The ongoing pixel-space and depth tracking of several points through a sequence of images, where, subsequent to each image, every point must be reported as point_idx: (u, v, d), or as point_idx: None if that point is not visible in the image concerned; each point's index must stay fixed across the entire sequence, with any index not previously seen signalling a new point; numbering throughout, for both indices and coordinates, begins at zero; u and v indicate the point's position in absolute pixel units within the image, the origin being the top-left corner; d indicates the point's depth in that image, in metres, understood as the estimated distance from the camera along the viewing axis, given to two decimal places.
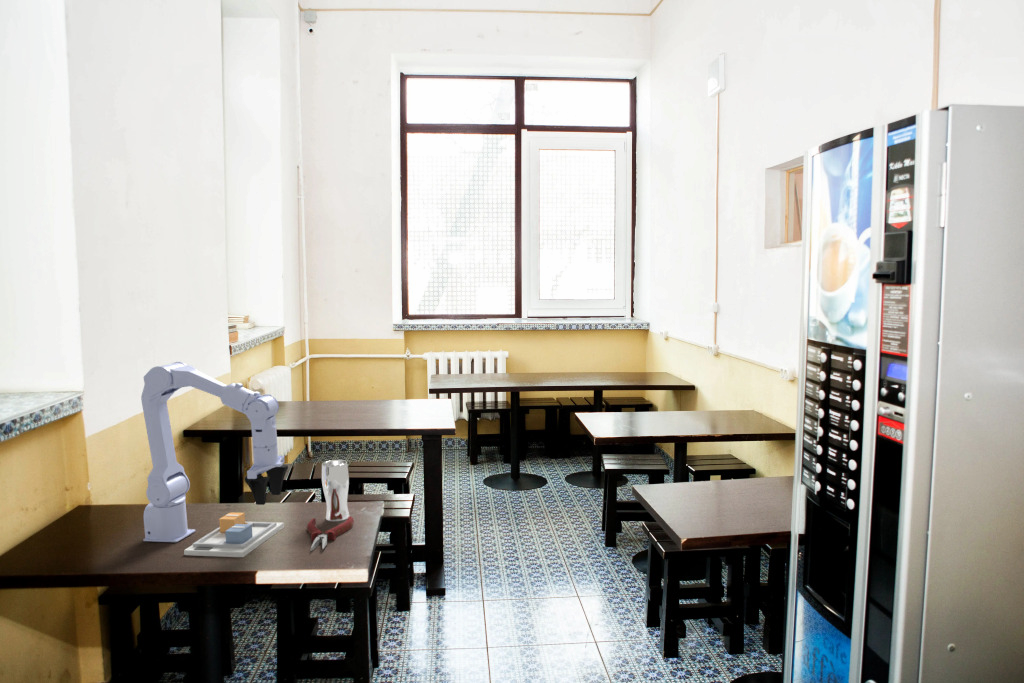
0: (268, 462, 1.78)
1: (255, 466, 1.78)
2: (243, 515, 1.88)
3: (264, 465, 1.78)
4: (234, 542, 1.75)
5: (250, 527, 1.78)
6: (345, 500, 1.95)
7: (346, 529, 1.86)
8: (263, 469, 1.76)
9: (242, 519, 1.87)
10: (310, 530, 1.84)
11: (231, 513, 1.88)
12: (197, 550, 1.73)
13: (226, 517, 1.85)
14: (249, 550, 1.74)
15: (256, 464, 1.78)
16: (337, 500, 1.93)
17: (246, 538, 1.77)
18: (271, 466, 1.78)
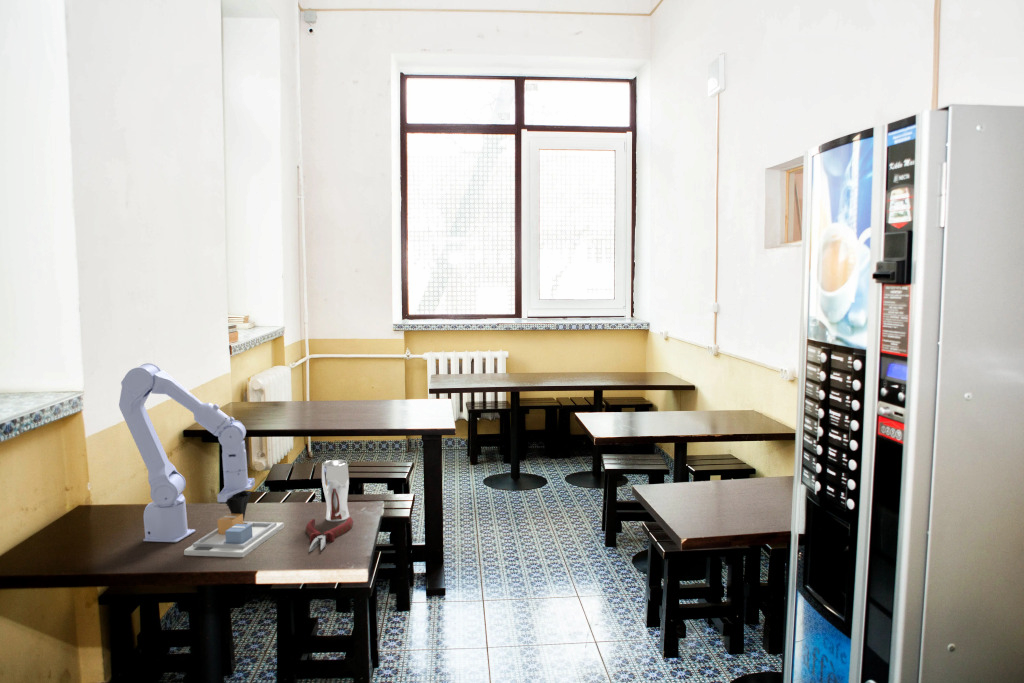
0: (238, 485, 1.86)
1: (225, 489, 1.86)
2: (241, 516, 1.87)
3: (234, 488, 1.85)
4: (234, 542, 1.75)
5: (250, 527, 1.78)
6: (345, 500, 1.95)
7: (345, 530, 1.85)
8: (233, 493, 1.84)
9: (240, 520, 1.86)
10: (309, 531, 1.83)
11: (229, 514, 1.87)
12: (197, 550, 1.73)
13: (224, 518, 1.84)
14: (249, 550, 1.74)
15: (226, 487, 1.86)
16: (337, 500, 1.93)
17: (246, 538, 1.77)
18: (241, 489, 1.86)
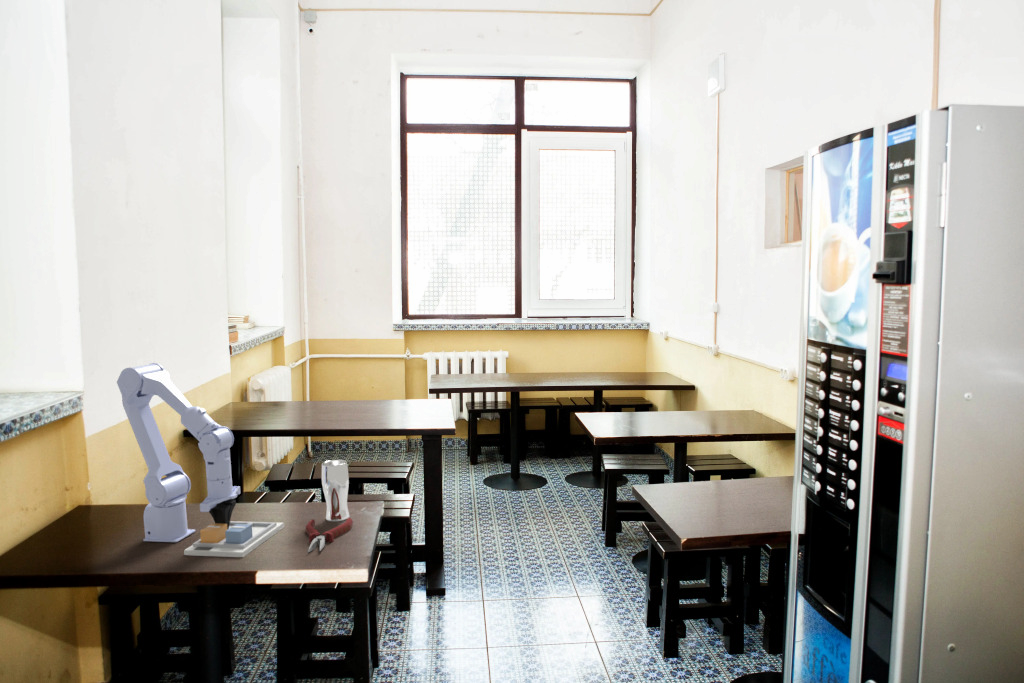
0: (222, 494, 1.79)
1: (209, 498, 1.79)
2: (225, 526, 1.80)
3: (218, 497, 1.78)
4: (234, 542, 1.75)
5: (250, 527, 1.78)
6: (345, 500, 1.95)
7: (345, 531, 1.85)
8: (216, 502, 1.77)
9: (224, 530, 1.79)
10: (308, 531, 1.83)
11: (213, 524, 1.80)
12: (197, 550, 1.73)
13: (207, 528, 1.77)
14: (249, 550, 1.74)
15: (210, 496, 1.79)
16: (337, 500, 1.93)
17: (246, 538, 1.77)
18: (225, 498, 1.79)
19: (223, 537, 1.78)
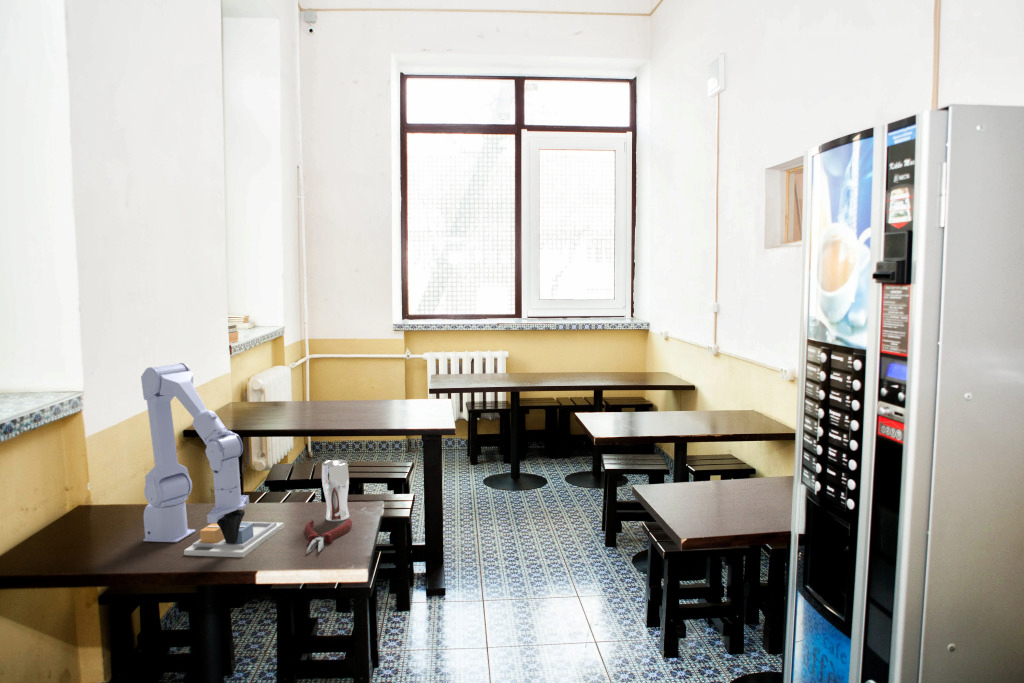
0: (230, 504, 1.70)
1: (216, 509, 1.71)
2: None
3: (226, 508, 1.70)
4: None
5: (250, 526, 1.79)
6: (345, 500, 1.95)
7: (344, 532, 1.84)
8: (224, 512, 1.68)
9: None
10: (307, 532, 1.82)
11: (213, 524, 1.80)
12: (197, 550, 1.73)
13: (207, 528, 1.77)
14: (249, 550, 1.74)
15: (217, 507, 1.71)
16: (337, 500, 1.93)
17: (247, 538, 1.77)
18: (233, 509, 1.71)
19: (223, 537, 1.78)
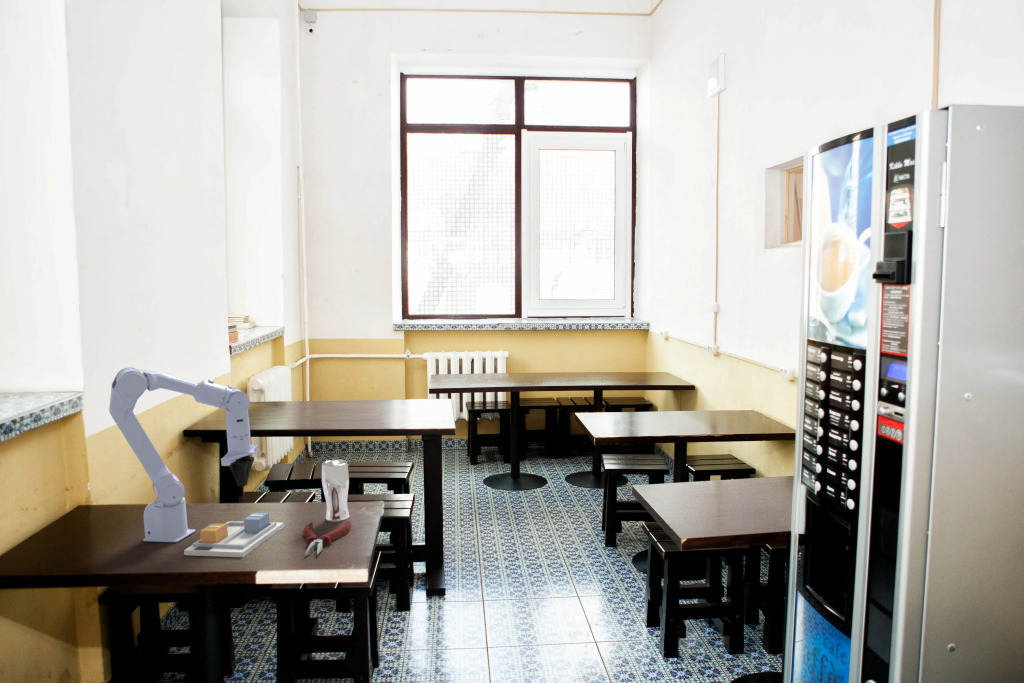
0: (241, 450, 1.91)
1: (229, 454, 1.91)
2: (225, 526, 1.80)
3: (237, 453, 1.91)
4: (252, 530, 1.83)
5: (267, 515, 1.86)
6: (345, 500, 1.95)
7: (343, 534, 1.82)
8: (236, 457, 1.89)
9: (224, 530, 1.79)
10: (306, 534, 1.81)
11: (213, 524, 1.80)
12: (197, 550, 1.73)
13: (207, 528, 1.77)
14: (249, 550, 1.74)
15: (230, 452, 1.91)
16: (337, 500, 1.93)
17: (264, 526, 1.85)
18: (244, 454, 1.91)
19: (223, 537, 1.78)
